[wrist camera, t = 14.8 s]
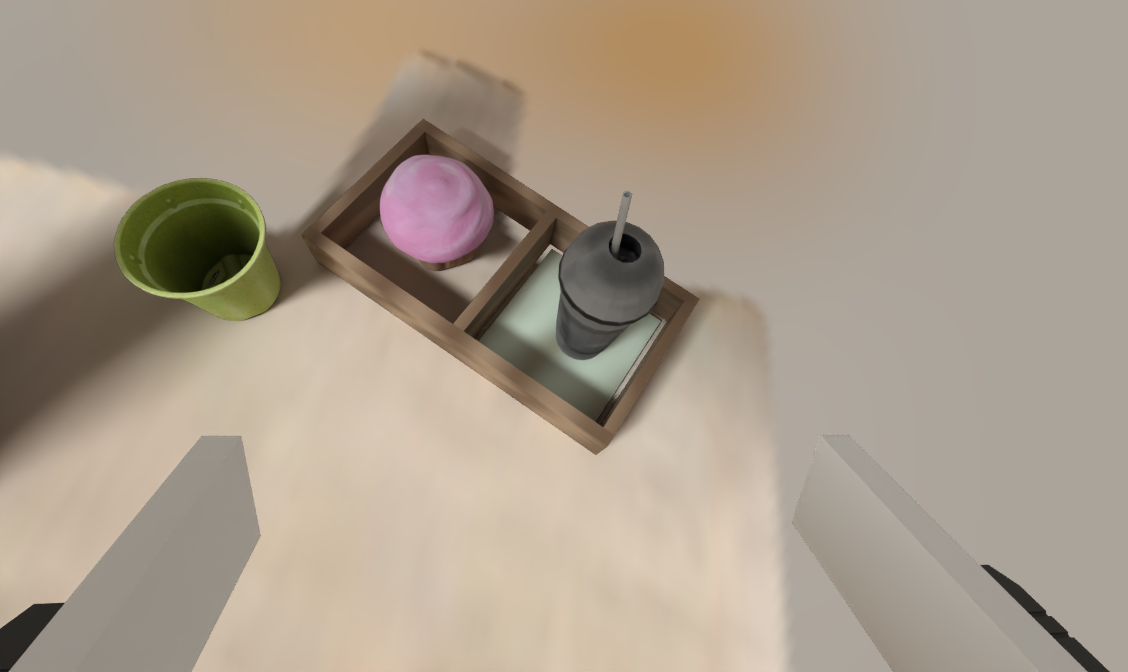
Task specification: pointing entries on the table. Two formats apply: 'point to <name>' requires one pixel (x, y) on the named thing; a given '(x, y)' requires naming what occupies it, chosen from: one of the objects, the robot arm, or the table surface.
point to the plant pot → (200, 248)
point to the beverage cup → (606, 284)
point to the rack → (528, 323)
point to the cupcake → (436, 211)
